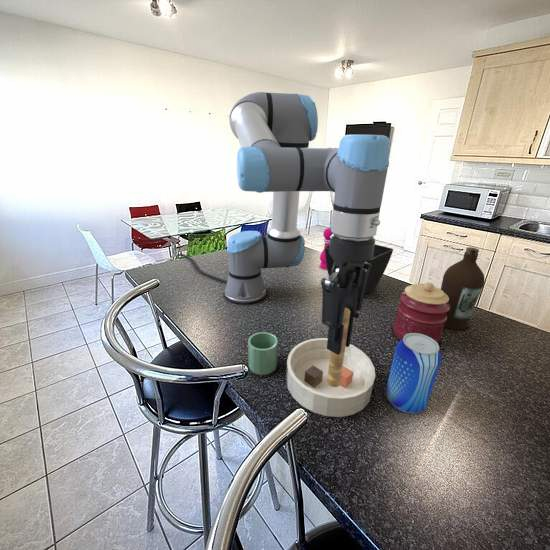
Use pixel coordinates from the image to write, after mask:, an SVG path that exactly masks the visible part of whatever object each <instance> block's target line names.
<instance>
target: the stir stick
mask: <svg viewBox="0 0 550 550" xmlns="http://www.w3.org/2000/svg"><path fill="white" fill-rule="evenodd" d="M349 319H350V310H349V309H348V308H345V310H344V315H343V319H342V325H344V329H343V336H342V343H341V351H340V354H339V355H337V354H335V353H333V352H332V351H331V352H330V361H329V369H328V378H327V383H328V385H329V386H331V387H338V386H339V385H340V382H341V375H342V368H343V361H344V354H345V347H346V340H347V333H348V326H349Z"/></svg>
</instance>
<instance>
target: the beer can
mask: <svg viewBox="0 0 550 550" xmlns="http://www.w3.org/2000/svg"><path fill="white" fill-rule="evenodd" d="M442 359H443V358H442V354H441V352H440V345H439V342H438V343H437V342H436V341H435V340H433V339H432V338H430V337H428V336H426V335H423V334H418V333H409V334H406V335H405V336H404V338H403V339H402V340H399V341H398V342H397V344H396V346H395V350H394V353H393V359H392V363H391V366H390V367H391V368H390V371H389V376H388V379H387V384H386V387H385V388H386V389H385V396H386V398H387V400H388V401H389V402H390V404H391V405H392V406H393V407H395V408H396V409H398V410H399V411H400V412H401V411H402V412H403V413H407V414H420V413H422V412H424V411H425V410H426V409H427V408H428V404H429V400H430V397H431V394H432V392H433V389H434V385H435V381H436V378H437V376H438V373H439V369H440V366H441V363H442V361H443V360H442Z"/></svg>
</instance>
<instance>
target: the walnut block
mask: <svg viewBox="0 0 550 550" xmlns="http://www.w3.org/2000/svg"><path fill="white" fill-rule="evenodd" d="M322 377H323V371H321V370H320V369H318V368H317V367H315V366H311V367H310V368H309V369H307V370H306V371H305V379H304V381H305V382H306V383H308V384H309V385H311V386H312V387H314V388H315V387H316V386H317V385H318V384H320V383H321V382H322Z"/></svg>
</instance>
